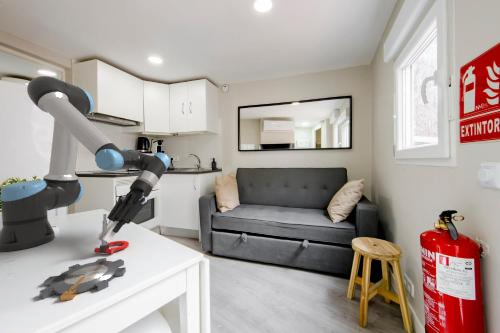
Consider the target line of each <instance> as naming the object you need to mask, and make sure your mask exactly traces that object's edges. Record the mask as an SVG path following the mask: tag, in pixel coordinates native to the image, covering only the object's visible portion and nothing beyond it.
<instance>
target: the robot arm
mask: <svg viewBox="0 0 500 333" xmlns="http://www.w3.org/2000/svg"><path fill="white" fill-rule="evenodd" d="M26 89H27V90H26V92H27V95H28V97H29V99H30V101H32V103H33V104H34V105H35V106H36V107H37V108H38V109H39V110H41V111H42V112H44V113H48V114H49V115H50V116H52V117H53V118H54V122H53V132H52V141H51V151H50V158H49V160H50V162H49V166H48V168H49V170H48V173H47V174H45V175H43V179H35V180H25V181H17V182H14V183H9V184H6V185H5V186H3V187H2V188H1V190H0V203H1V220H2V227H1V230H0V252H14V251H19V250H20V251H21V250H25V249H30V248H34V247H38V246H41V245H43V244H47V243H49V242H51V241H53V240H54V239H55V231H54V229H53V227H52V225H51V223H50V220H49V218H48V211H52V210H56V209H60V208H65V207H69V206H72V205H74V204H76V203H78V202H79V201H80V200H81V199H82V198H83V196H84V186H83V185H82V184H83V183H81V182H80V181H79V176H78V175H76V167H77V158H78V149H79V143H81V144H82V145H83V147H85V149H87V150H88V151H89V152H90V153H91V154H93V156H94V157H95V158H94V161H95V164H96V166H97V167H98V168H99V169H100V170H103V171H118V170H119V171H120V170H133V169H134V170H138V171H141V172H140V173H139V174H138V175H137V177H136V178H135V179H134V181H133V182H132V183H131V185H130V186H129V191H128V193H127V192H126V195H124V196H122V195H120V196H119V197H118V198H117V201H116V203H115V205H113V208H112V209H111V210H110V212H109V213H108V214H107V216H106V219H107V220H109V221H107V233H106V234H105V236H104V237H103V238H102V231H101V233H100V234H99V235H98V236H97V239H98V240H99V241H101V242H102V240H104V241H106V242H107V243H110V242H112V240H113V239H114V238H115V236H116V234H118V233H119V231H120V230H121V229H122V227H123V226H124V225H126V224H127V225H129V224H130V223H131V222H132V221H133V220H134V219H135V217H136V216H137V215H138V214H139V212H140V211H141V210H142V209H143V207H145V206H146V205H148V203H149V201H148V200H147V199H146V198H148V197H149V196H150V194H151V193H152V192H153V189H154V188H156V186H157V184H158V182H159V181H160V179H161V177H162V176H163V175H164V173H165V172H166V171H168V168H169V166H170V165H171V159H170V157H169V156H168V155H167V154H165V153H163V152H156V153H154V155H151V154H146V153H144V152H141V151H137V150H135V149H132V148H123V149H120V148H119V147H118V146H117V145H116V144H114V142H113V141H111V140H110V139H109V138H108V137H107V136H106V135H105V134H104V133H103V132H101V130H100V129H99V128H97V127H96V126H95V125H94V124H93V123H92V122H91V121H90V120H89V119H88V118H87V117H86V116H87V115H90V113H91V112H92V111H93V110H94V106H95V104H94V100H93V98H92V95H91V94H90V93H89V92H88V91H87V90H85V89H83V88H81V87H79V86H76V85H75V84H72V83H68V82H66V81H63V80H60V79H58V78H56V77H54V76H48V75H42V76H36V77H34V78H32V80H30V81H29V82H28V84H27V88H26Z"/></svg>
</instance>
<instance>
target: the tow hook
mask: <svg viewBox="0 0 500 333" xmlns="http://www.w3.org/2000/svg"><path fill="white" fill-rule="evenodd" d="M102 215H103V217H102V218H103V220H102V230H101V232H102V238H103V237H104V236H105V234H106V233H107V224H108V219H107V213H104V214H102ZM115 245H120V246H115ZM129 245H130V242H129V241H127V240H116V241H111V242H110V243H108V242H106V241H104V240H102V241H101V244H100V245H99V247H94V250H93V251H94V252H95V253H101V254H114V253H115V252H116V251H120V250H121V251H122V250H123V249H125V248H128V247H129ZM110 246H111V247H110ZM112 246H115V247H112Z"/></svg>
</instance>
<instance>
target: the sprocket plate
mask: <svg viewBox="0 0 500 333" xmlns="http://www.w3.org/2000/svg"><path fill="white" fill-rule="evenodd" d="M126 272H127V270H126V266H125V261H124V259H121V258H119V259H117V260H115V261H112V260H107V258H106V257H103V258H98V259H96V260H95V261H93V262H92V261H91V262H88V263H85V264H79V263H77V264H74V265H71V266H68V270H66V271H63V272H62V273H60V274H58V275H51V276H49V277H48V278H47V279H45V280H44V281H43V286H44V287H46V288H42V290H39V297H40V298H41V299H42V300H45V299H47V298H50V297H52V296H59V297H60V302H64V301H72V300H73V299H75V297H76V296H77V295H79V294H83V293H87V292H90V291H92V290H96V291H97V292H100V291H102V290H104V289H107V288H108V287H109V286H110V285H109V282H110V281H112V280H113V279H114V278H117V277H123V276H125V273H126Z"/></svg>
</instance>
